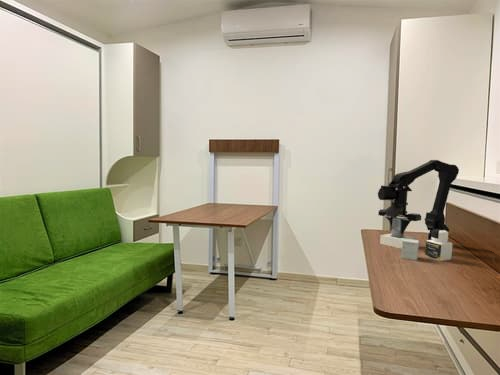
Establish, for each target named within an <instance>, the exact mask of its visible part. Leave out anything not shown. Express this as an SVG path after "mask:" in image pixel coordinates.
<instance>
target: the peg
mask: <svg viewBox="0 0 500 375" xmlns="http://www.w3.org/2000/svg"><path fill="white" fill-rule="evenodd" d="M403 219H404V217H396V218H393V221H392V228H391V233H392V235H391V237H396V238H404V235H405V232H404V233H403V234H401V228H402V221H401V220H403Z"/></svg>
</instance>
